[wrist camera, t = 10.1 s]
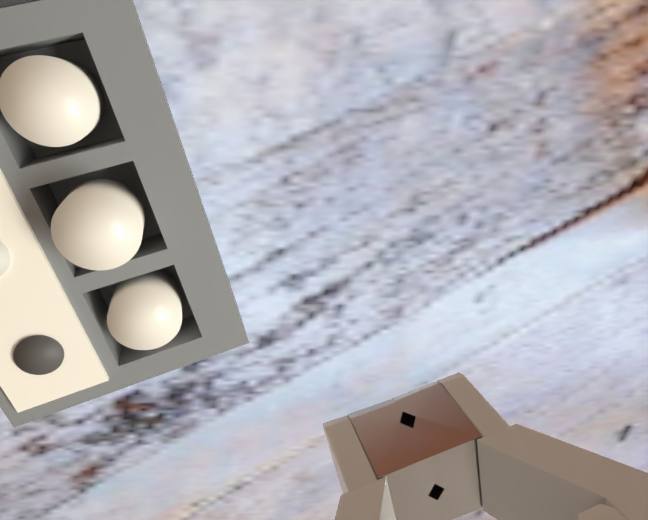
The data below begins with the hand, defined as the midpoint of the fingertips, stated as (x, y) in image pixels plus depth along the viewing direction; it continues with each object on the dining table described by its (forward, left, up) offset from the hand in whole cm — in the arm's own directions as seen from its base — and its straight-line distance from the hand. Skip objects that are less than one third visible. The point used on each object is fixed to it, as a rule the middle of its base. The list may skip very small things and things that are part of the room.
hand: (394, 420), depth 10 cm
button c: (+8, +5, -21) cm, 23 cm away
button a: (+8, -7, -21) cm, 24 cm away
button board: (+10, -1, -23) cm, 25 cm away
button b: (+8, -1, -20) cm, 21 cm away
